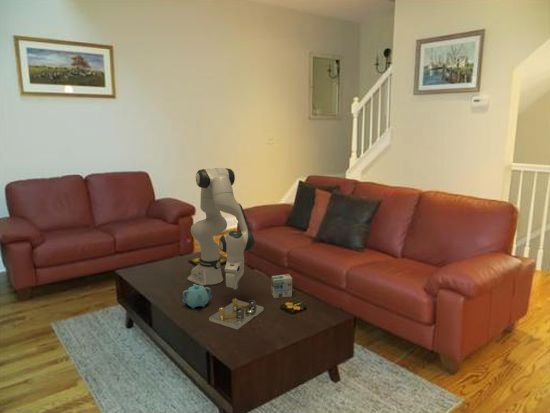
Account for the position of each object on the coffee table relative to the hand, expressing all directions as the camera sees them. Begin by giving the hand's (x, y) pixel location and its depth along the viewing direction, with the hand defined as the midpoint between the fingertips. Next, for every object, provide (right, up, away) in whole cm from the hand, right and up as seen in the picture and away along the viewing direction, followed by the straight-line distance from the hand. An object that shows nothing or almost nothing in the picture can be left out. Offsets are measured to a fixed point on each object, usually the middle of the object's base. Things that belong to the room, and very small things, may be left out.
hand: (235, 288), depth 216 cm
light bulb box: (+24, -8, +19) cm, 31 cm away
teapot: (-21, -11, +6) cm, 24 cm away
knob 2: (+5, -10, -2) cm, 11 cm away
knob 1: (-1, -12, -12) cm, 17 cm away
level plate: (+1, -13, -6) cm, 14 cm away
